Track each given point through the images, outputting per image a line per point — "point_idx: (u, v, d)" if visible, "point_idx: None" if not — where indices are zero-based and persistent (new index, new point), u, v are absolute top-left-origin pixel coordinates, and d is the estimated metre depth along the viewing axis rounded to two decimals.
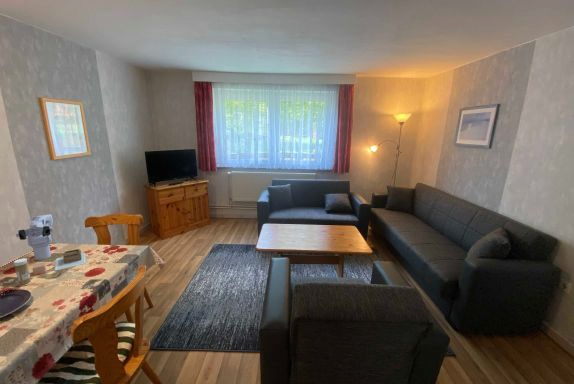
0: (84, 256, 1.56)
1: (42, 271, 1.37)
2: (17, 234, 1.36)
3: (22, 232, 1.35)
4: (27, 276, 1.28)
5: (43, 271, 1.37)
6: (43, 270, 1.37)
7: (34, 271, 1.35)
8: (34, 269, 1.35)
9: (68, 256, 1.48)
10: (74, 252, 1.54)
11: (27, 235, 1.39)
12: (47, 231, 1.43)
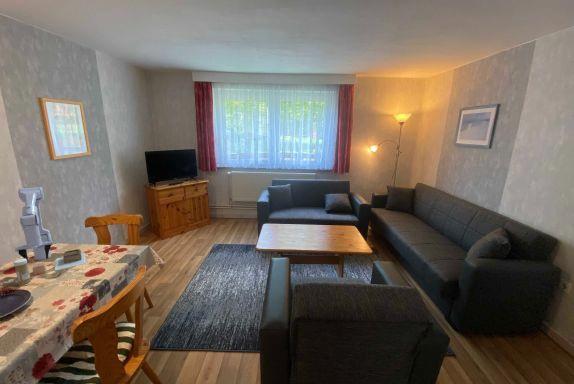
0: (84, 256, 1.56)
1: (42, 271, 1.37)
2: None
3: (24, 256, 1.32)
4: (27, 276, 1.28)
5: (43, 271, 1.37)
6: (43, 270, 1.37)
7: (34, 271, 1.35)
8: (34, 269, 1.35)
9: (68, 256, 1.48)
10: (74, 252, 1.54)
11: None
12: None
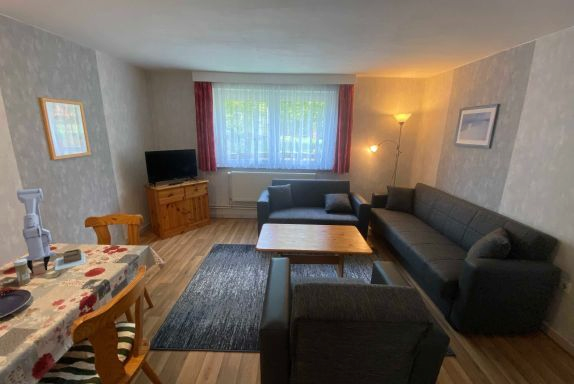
0: (84, 256, 1.56)
1: (42, 271, 1.37)
2: None
3: (30, 267, 1.34)
4: (27, 276, 1.28)
5: (43, 271, 1.37)
6: (43, 270, 1.37)
7: (34, 271, 1.35)
8: (34, 269, 1.35)
9: (68, 256, 1.48)
10: (74, 252, 1.54)
11: None
12: None
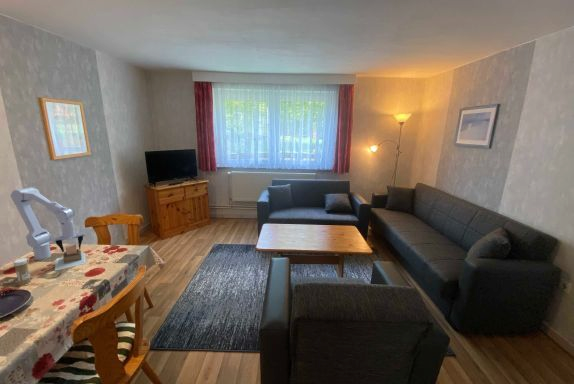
0: (84, 256, 1.56)
1: (74, 251, 1.51)
2: None
3: (60, 246, 1.47)
4: (27, 276, 1.28)
5: (75, 251, 1.51)
6: (75, 250, 1.51)
7: (67, 251, 1.49)
8: (67, 249, 1.49)
9: (68, 256, 1.48)
10: None
11: None
12: None
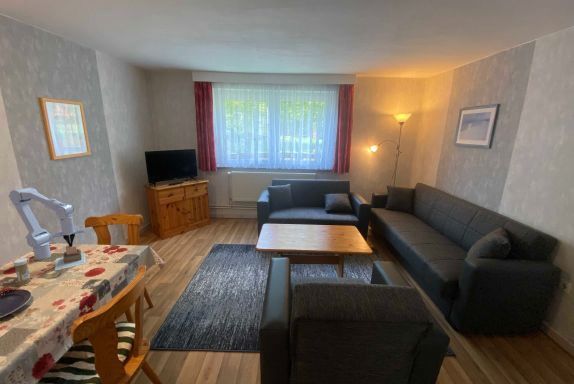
0: (84, 256, 1.56)
1: (74, 251, 1.51)
2: None
3: (68, 240, 1.48)
4: (27, 276, 1.28)
5: (75, 251, 1.51)
6: (75, 250, 1.51)
7: (67, 251, 1.49)
8: (67, 249, 1.49)
9: (68, 256, 1.48)
10: None
11: None
12: None
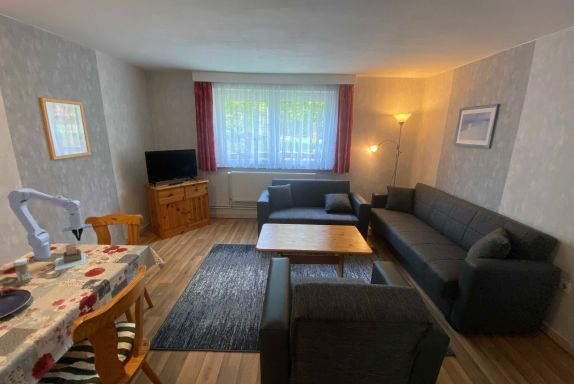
0: (84, 256, 1.56)
1: (74, 251, 1.51)
2: None
3: (76, 235, 1.54)
4: (27, 276, 1.28)
5: (75, 251, 1.51)
6: (75, 250, 1.51)
7: (67, 251, 1.49)
8: (67, 249, 1.49)
9: (68, 256, 1.48)
10: None
11: None
12: None
